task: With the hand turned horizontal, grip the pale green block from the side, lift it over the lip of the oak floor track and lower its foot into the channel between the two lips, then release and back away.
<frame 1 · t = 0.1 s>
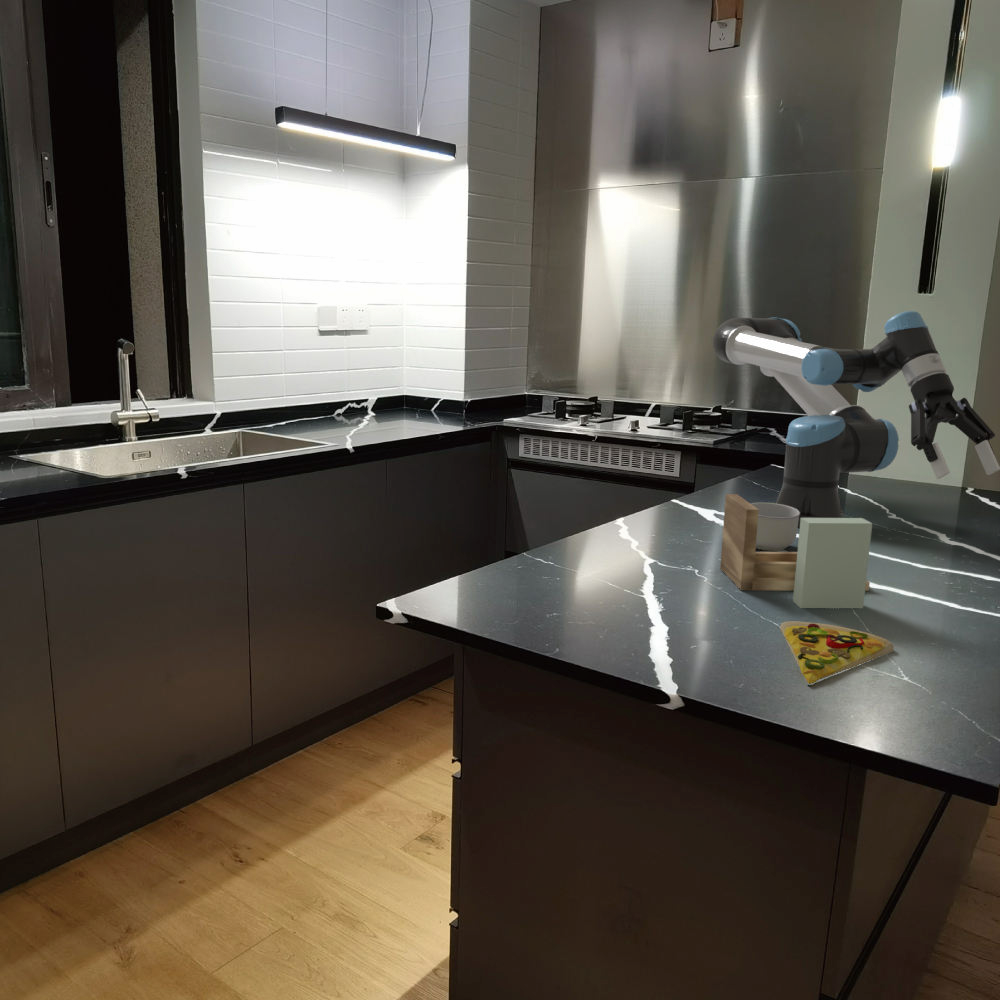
hand: (969, 474, 170), 15 cm above the worktop, tool tilted 35°, fingers open, 13 cm apart
track: (791, 579, 152), on the worktop
pale green block: (827, 604, 139), on the worktop
pizza slice: (822, 665, 118), on the worktop
teacup: (760, 547, 173), on the worktop
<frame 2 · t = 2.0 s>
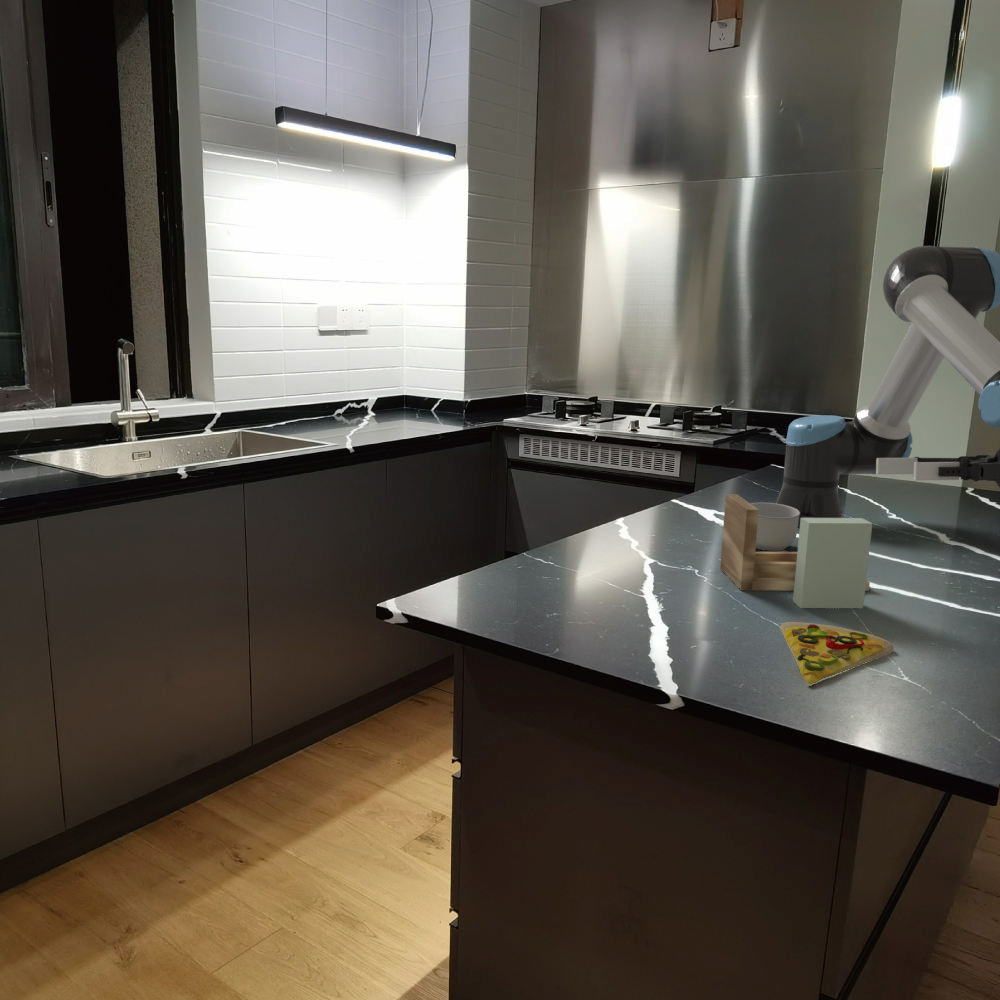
hand: (894, 468, 138), 22 cm above the worktop, tool horizontal, fingers open, 13 cm apart
nothing on the worktop moved.
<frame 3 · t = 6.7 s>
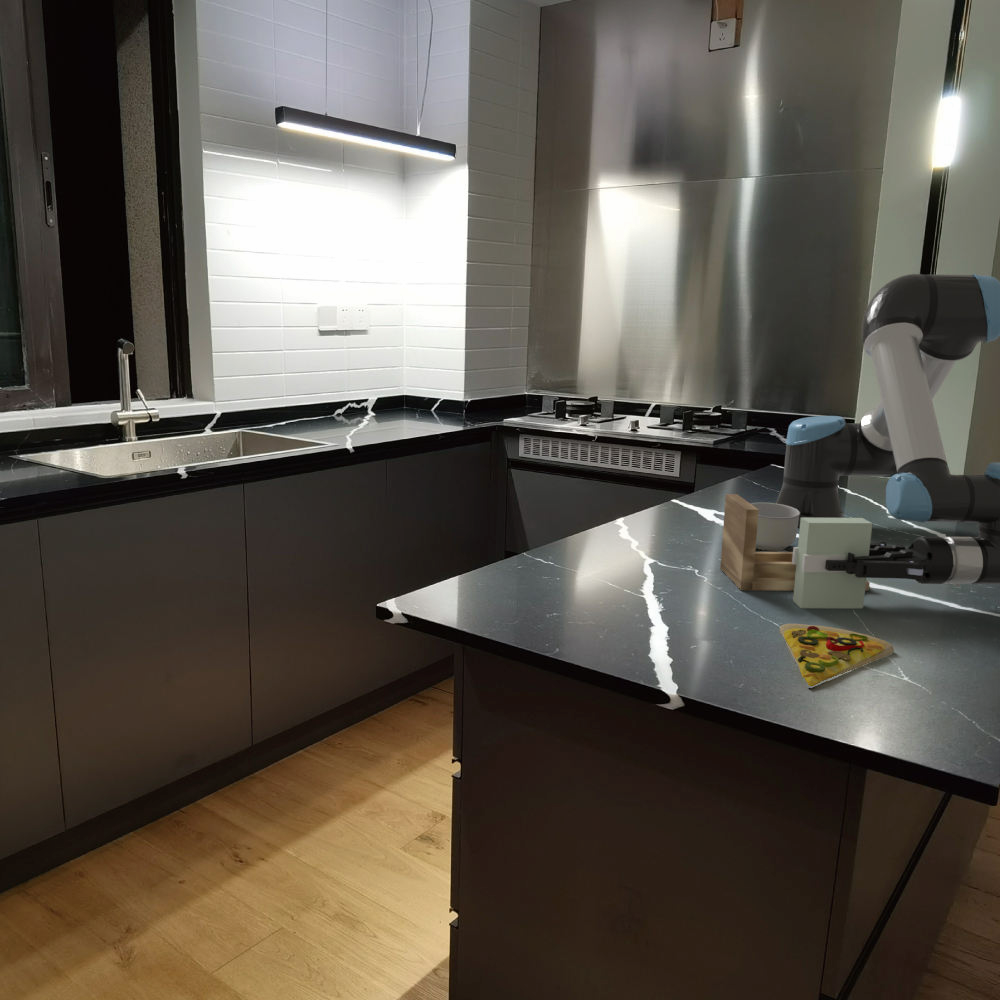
hand: (798, 559, 137), 8 cm above the worktop, tool horizontal, fingers closed on pale green block, 3 cm apart
pale green block: (827, 604, 139), on the worktop, touching gripper
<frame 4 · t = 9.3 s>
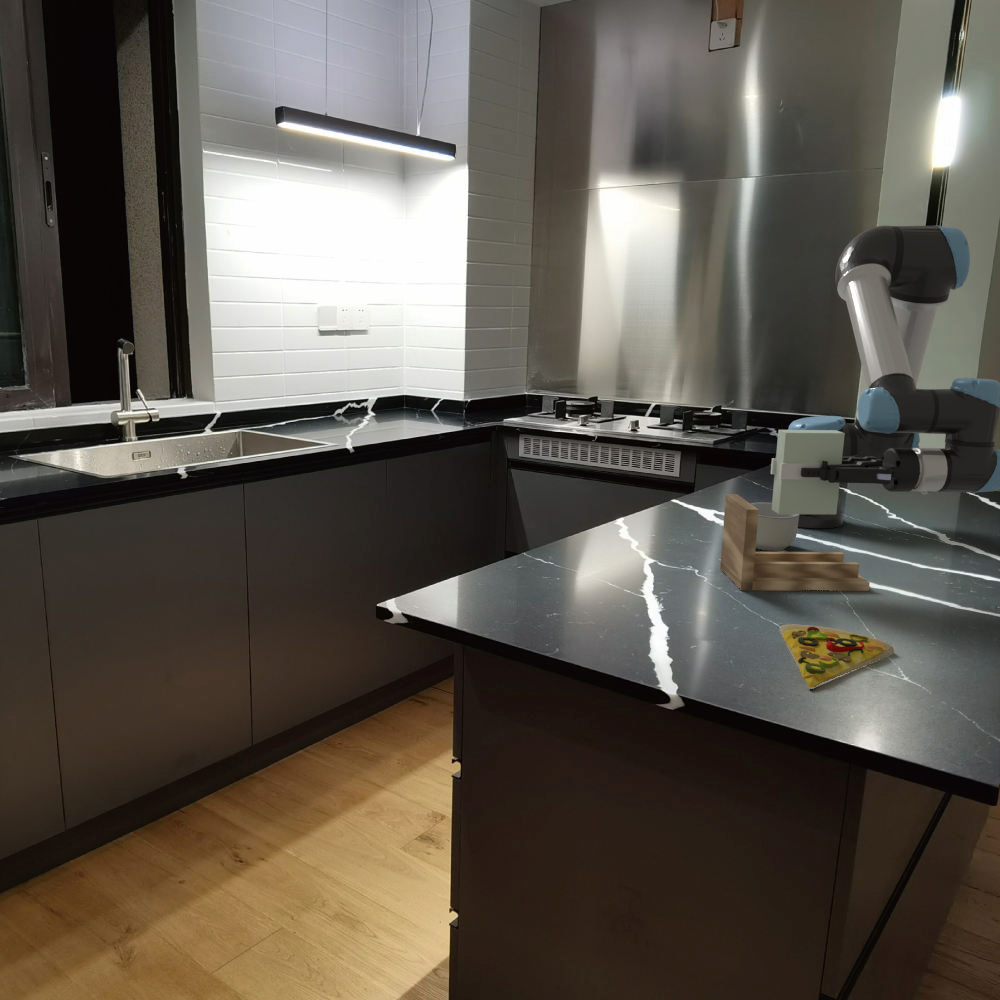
hand: (776, 468, 147), 20 cm above the worktop, tool horizontal, fingers closed on pale green block, 3 cm apart
pale green block: (803, 511, 149), point 12 cm above the worktop, touching gripper
when the fingers open (10 cm above the worktop, at t = 11.8 s): pale green block stays where it is, resting on track.
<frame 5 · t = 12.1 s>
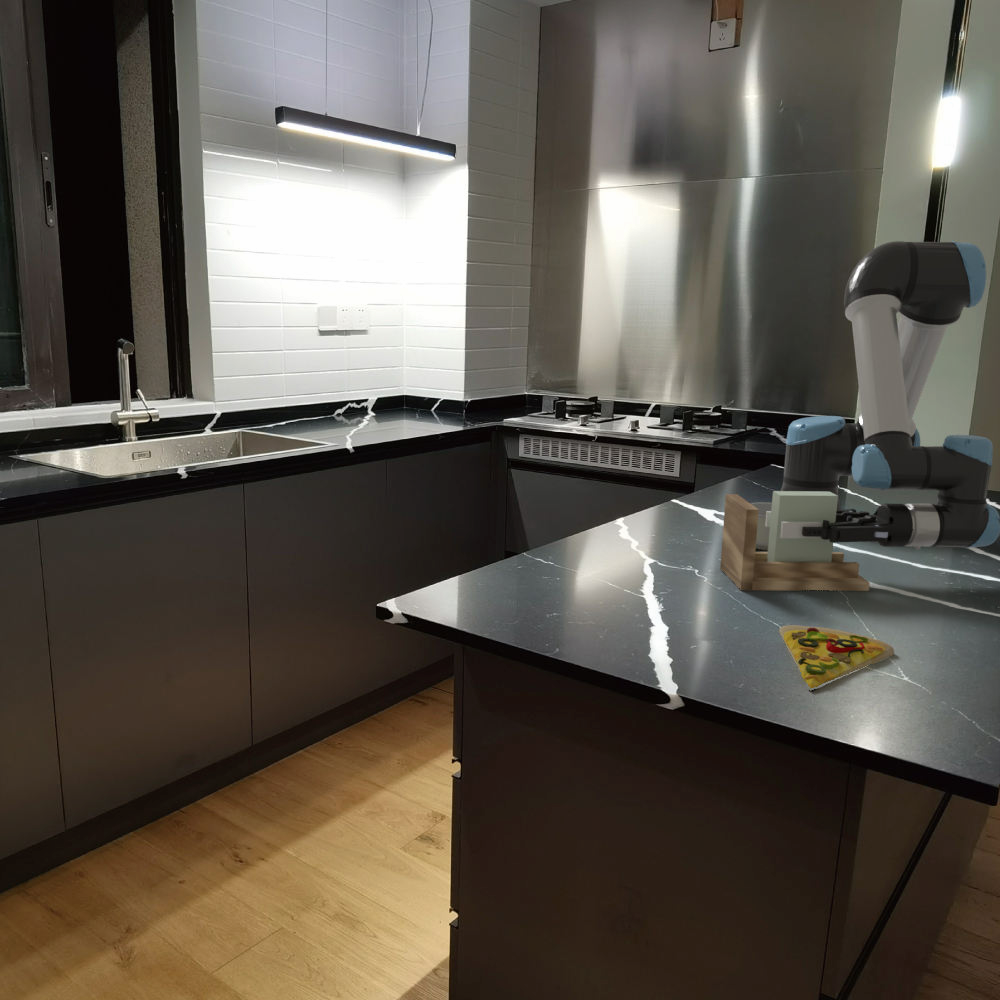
hand: (774, 524, 150), 10 cm above the worktop, tool horizontal, fingers open, 7 cm apart
pale green block: (797, 571, 152), point 1 cm above the worktop, touching track
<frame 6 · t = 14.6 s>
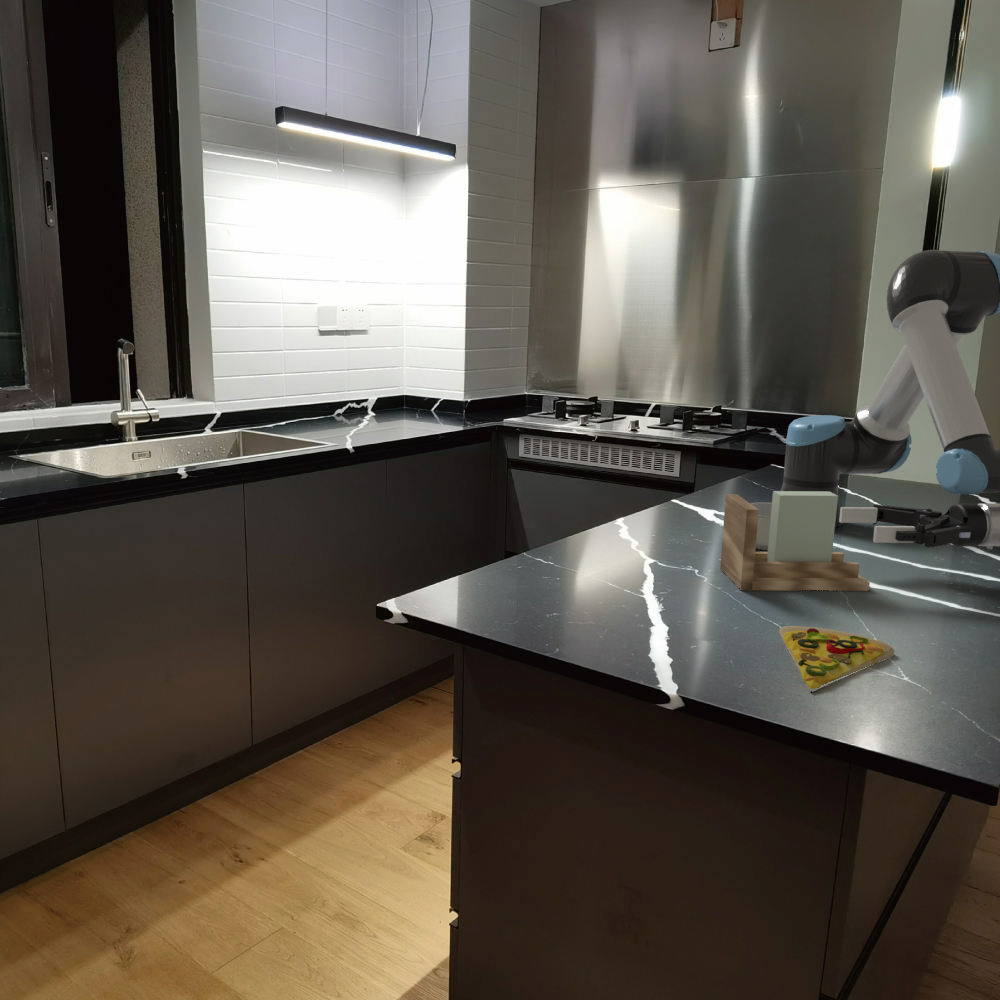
hand: (856, 524, 150), 10 cm above the worktop, tool horizontal, fingers open, 13 cm apart
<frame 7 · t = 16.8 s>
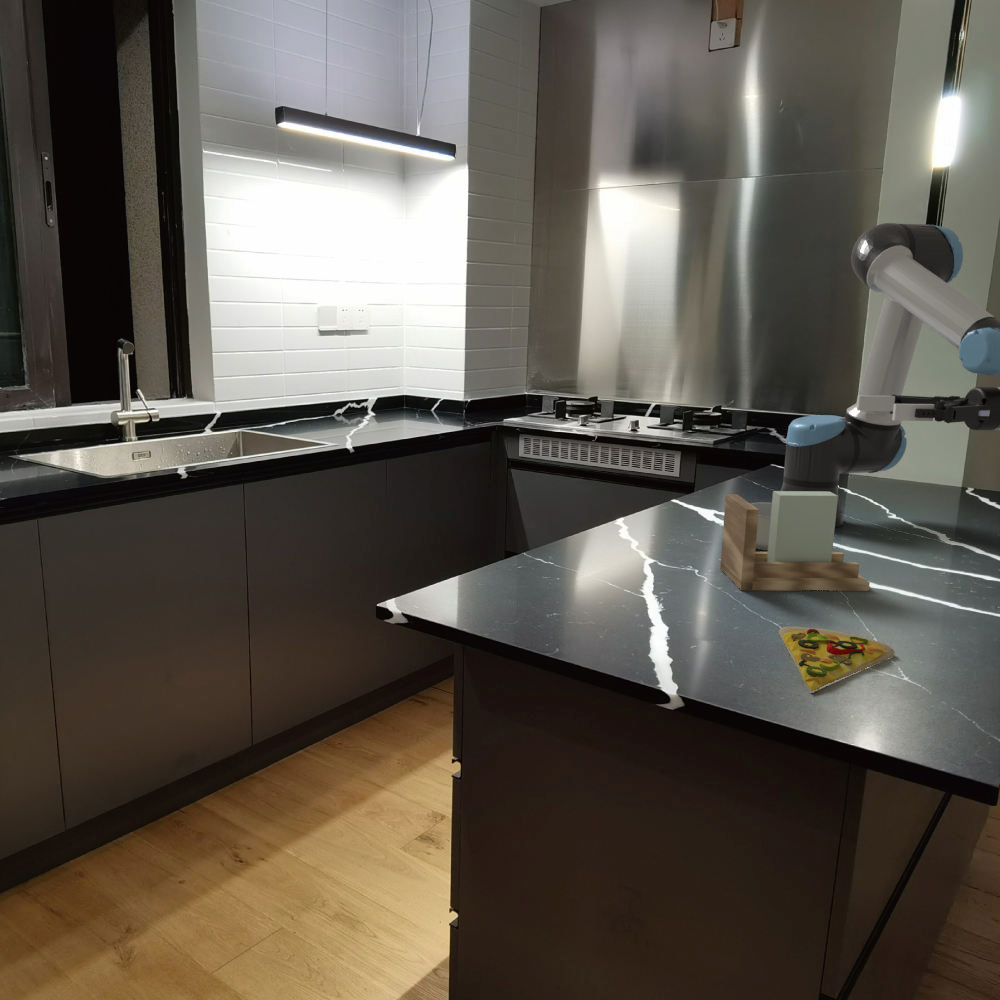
hand: (874, 407, 150), 30 cm above the worktop, tool horizontal, fingers open, 13 cm apart
at the end: pale green block inside the target area on the track (0.4 cm from its centre), point 1.5 cm above the track's base; pale green block tilted 0°; the gripper is holding nothing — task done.
